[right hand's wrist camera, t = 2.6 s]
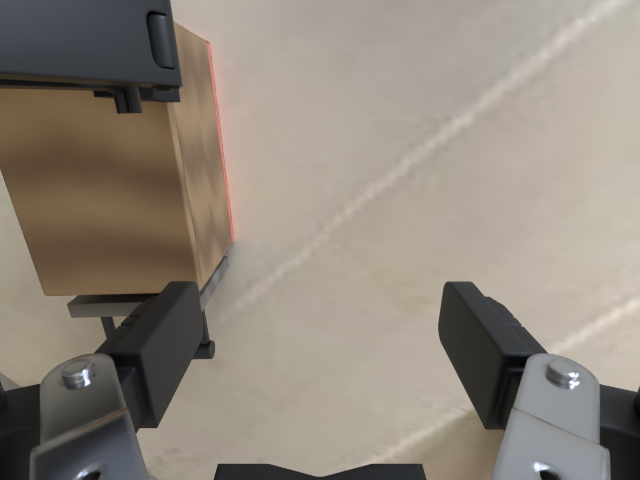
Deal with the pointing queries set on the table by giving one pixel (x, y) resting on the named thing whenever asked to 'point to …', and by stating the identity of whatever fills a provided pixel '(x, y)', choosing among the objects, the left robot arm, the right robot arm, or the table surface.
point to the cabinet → (119, 183)
